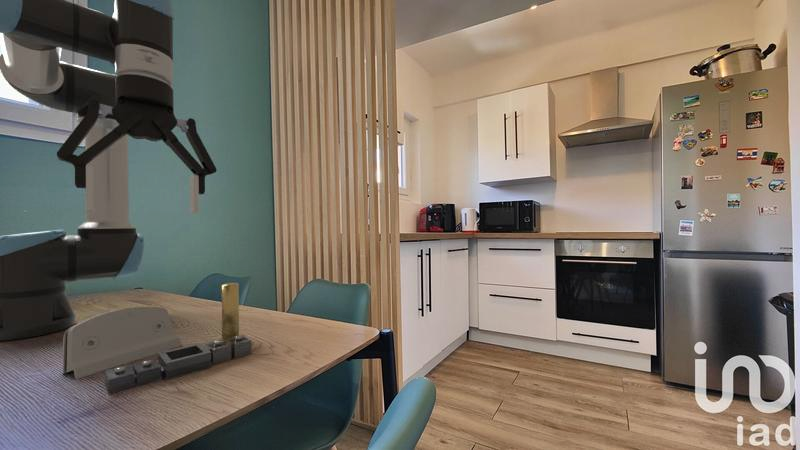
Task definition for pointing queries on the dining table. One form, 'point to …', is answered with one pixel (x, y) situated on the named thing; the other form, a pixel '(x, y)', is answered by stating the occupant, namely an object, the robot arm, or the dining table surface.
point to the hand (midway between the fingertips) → (146, 212)
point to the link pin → (230, 310)
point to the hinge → (117, 339)
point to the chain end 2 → (206, 352)
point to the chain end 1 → (146, 373)
